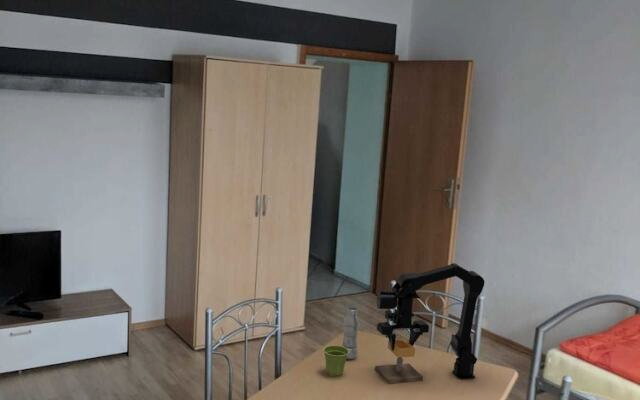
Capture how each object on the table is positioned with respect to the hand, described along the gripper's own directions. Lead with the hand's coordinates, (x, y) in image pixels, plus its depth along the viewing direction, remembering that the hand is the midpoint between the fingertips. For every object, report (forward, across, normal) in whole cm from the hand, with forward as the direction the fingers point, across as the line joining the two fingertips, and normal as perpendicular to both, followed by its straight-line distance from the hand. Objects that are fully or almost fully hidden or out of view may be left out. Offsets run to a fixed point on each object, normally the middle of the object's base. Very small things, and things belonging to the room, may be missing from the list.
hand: (401, 349), depth 242 cm
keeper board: (+10, 0, 0) cm, 10 cm away
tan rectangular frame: (+1, 0, 0) cm, 1 cm away
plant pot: (+10, +23, -6) cm, 26 cm away
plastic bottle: (+10, +13, -18) cm, 24 cm away
